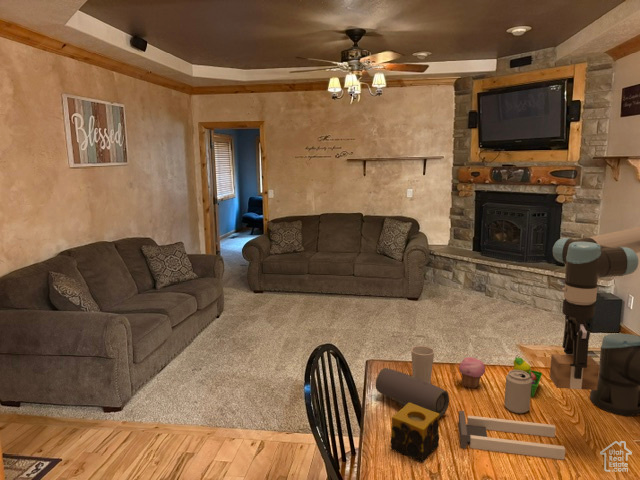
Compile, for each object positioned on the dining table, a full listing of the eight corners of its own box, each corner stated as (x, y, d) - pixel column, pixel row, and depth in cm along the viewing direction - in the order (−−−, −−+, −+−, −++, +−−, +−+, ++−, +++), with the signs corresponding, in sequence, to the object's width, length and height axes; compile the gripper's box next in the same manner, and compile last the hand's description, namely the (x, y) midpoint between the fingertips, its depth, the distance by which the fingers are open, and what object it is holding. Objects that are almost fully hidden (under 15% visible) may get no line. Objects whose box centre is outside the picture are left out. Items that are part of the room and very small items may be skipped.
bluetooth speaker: (449, 414, 150) (451, 384, 148) (433, 426, 144) (434, 395, 142) (391, 389, 166) (391, 362, 164) (374, 399, 160) (374, 371, 158)
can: (531, 415, 149) (534, 379, 147) (506, 413, 150) (508, 377, 148) (526, 403, 156) (529, 369, 154) (502, 401, 158) (504, 367, 156)
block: (588, 379, 133) (590, 355, 132) (596, 390, 127) (599, 365, 126) (549, 377, 134) (551, 354, 133) (556, 387, 128) (558, 363, 127)
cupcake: (460, 377, 175) (462, 351, 173) (485, 382, 171) (487, 356, 169) (455, 388, 167) (457, 361, 165) (481, 393, 163) (483, 366, 161)
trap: (484, 425, 144) (485, 413, 143) (489, 451, 131) (490, 438, 131) (458, 422, 145) (459, 410, 145) (460, 447, 133) (461, 434, 132)
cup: (406, 378, 174) (407, 347, 172) (425, 375, 176) (426, 344, 174) (417, 388, 167) (418, 356, 164) (437, 385, 169) (438, 353, 167)
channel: (553, 434, 139) (554, 424, 139) (564, 459, 128) (565, 449, 127) (467, 424, 144) (467, 415, 144) (470, 448, 133) (470, 438, 132)
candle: (407, 432, 140) (408, 401, 139) (439, 445, 134) (441, 413, 132) (389, 449, 133) (390, 416, 131) (422, 464, 126) (423, 429, 125)
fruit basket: (536, 400, 159) (539, 368, 157) (508, 393, 163) (510, 362, 161) (541, 386, 168) (544, 355, 166) (514, 380, 173) (516, 350, 171)
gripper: (554, 290, 137) (548, 366, 141) (573, 311, 118) (566, 398, 122) (583, 291, 135) (576, 368, 139) (607, 313, 116) (598, 401, 120)
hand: (571, 382), depth 131 cm, fingers closed on block, 6 cm apart
